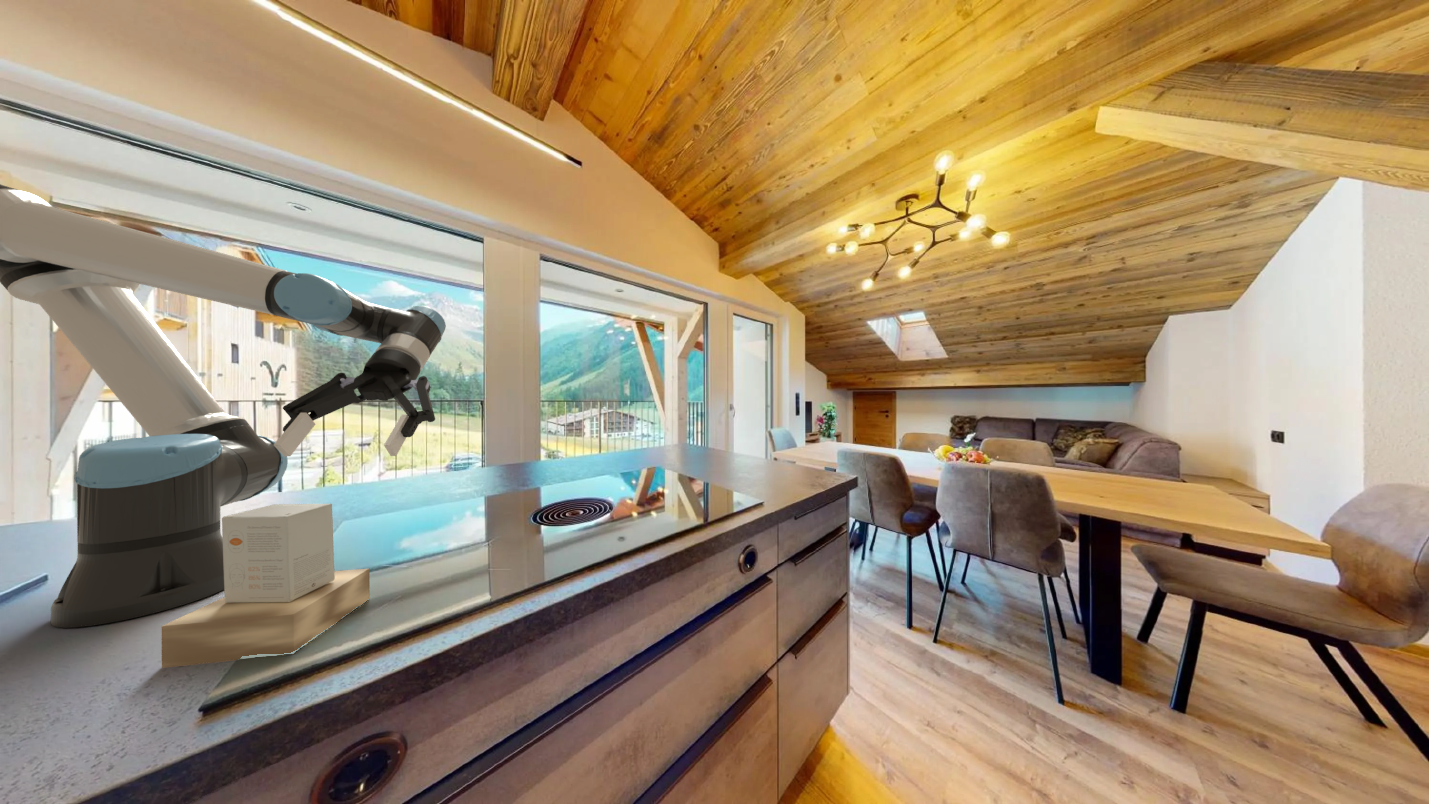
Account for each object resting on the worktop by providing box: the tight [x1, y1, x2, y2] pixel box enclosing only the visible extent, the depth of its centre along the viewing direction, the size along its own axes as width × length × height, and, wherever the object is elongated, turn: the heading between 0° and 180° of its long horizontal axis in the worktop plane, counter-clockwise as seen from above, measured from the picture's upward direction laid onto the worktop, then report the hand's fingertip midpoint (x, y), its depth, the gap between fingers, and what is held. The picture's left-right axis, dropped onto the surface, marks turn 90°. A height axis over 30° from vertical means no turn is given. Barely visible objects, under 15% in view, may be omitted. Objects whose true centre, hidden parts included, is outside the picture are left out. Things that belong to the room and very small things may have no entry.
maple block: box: [161, 568, 371, 669], centre depth 48 cm, size 12×12×5 cm
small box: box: [221, 503, 335, 603], centre depth 48 cm, size 8×6×10 cm
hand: (337, 450), depth 57 cm, fingers open, 13 cm apart
